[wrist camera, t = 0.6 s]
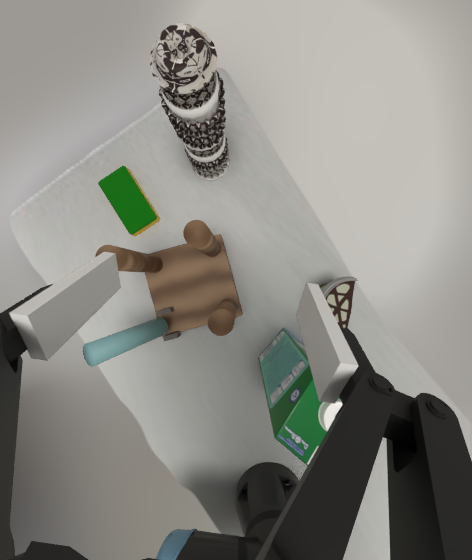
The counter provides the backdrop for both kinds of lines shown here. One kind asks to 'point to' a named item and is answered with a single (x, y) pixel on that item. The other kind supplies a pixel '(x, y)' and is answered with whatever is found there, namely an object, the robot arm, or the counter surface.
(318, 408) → the milk carton
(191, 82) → the decorative candle
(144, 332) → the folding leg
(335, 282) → the food container
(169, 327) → the walnut stool
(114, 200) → the dish sponge
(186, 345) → the counter surface
